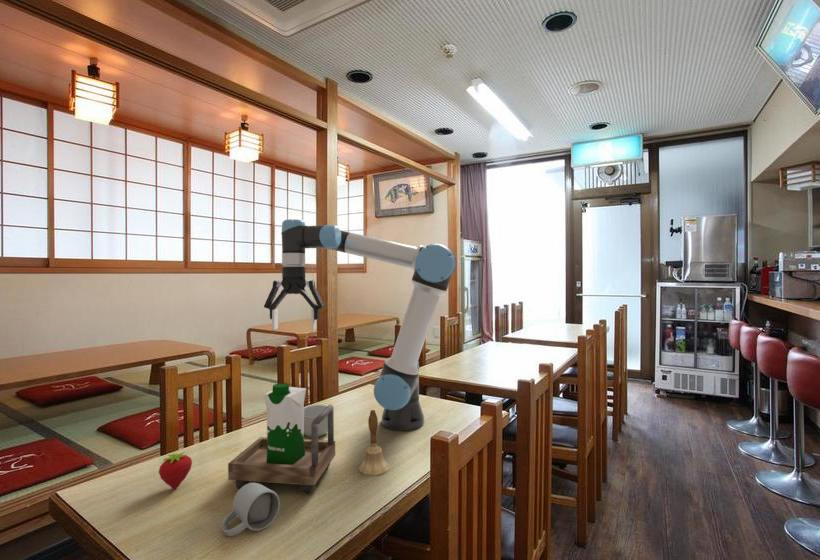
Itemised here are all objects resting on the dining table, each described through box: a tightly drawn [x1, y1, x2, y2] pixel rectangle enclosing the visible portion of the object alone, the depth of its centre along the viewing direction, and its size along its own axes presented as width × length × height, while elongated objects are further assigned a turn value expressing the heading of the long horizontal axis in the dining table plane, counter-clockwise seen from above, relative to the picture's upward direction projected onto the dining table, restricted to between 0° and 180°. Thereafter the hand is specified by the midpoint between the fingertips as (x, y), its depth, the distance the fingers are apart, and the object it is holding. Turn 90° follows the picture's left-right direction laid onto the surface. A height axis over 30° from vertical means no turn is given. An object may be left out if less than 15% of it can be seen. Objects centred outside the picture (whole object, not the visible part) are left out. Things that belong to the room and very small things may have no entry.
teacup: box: [304, 404, 328, 438], centre depth 135 cm, size 14×11×8 cm
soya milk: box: [263, 382, 307, 465], centre depth 106 cm, size 9×9×20 cm
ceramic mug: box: [221, 482, 281, 537], centre depth 86 cm, size 11×8×8 cm
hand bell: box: [358, 409, 390, 477], centre depth 111 cm, size 8×8×16 cm
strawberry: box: [158, 449, 193, 489], centre depth 101 cm, size 6×8×10 cm
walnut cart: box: [227, 404, 336, 495], centre depth 106 cm, size 22×16×18 cm
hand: (294, 329), depth 136 cm, fingers open, 13 cm apart
